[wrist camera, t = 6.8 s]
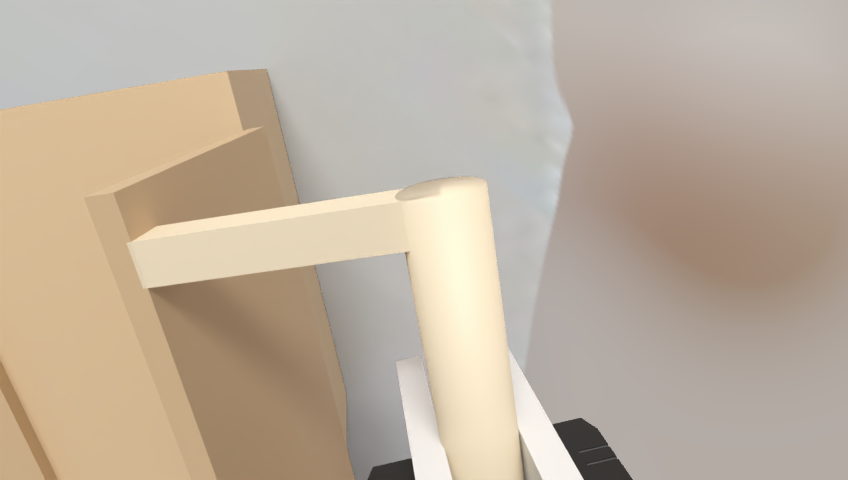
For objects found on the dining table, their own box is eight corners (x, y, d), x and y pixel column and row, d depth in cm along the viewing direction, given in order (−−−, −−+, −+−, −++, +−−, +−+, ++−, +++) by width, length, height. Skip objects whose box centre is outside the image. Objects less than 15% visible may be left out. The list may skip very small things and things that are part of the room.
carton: (56, 461, 33) (-68, 631, 23) (-101, 131, 27) (-369, 172, 17) (347, 396, 35) (348, 530, 25) (266, 68, 28) (223, 70, 18)
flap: (284, 750, 15) (558, 732, 14) (70, 203, 10) (483, 137, 9) (343, 487, 24) (514, 469, 24) (247, 129, 19) (463, 93, 18)
